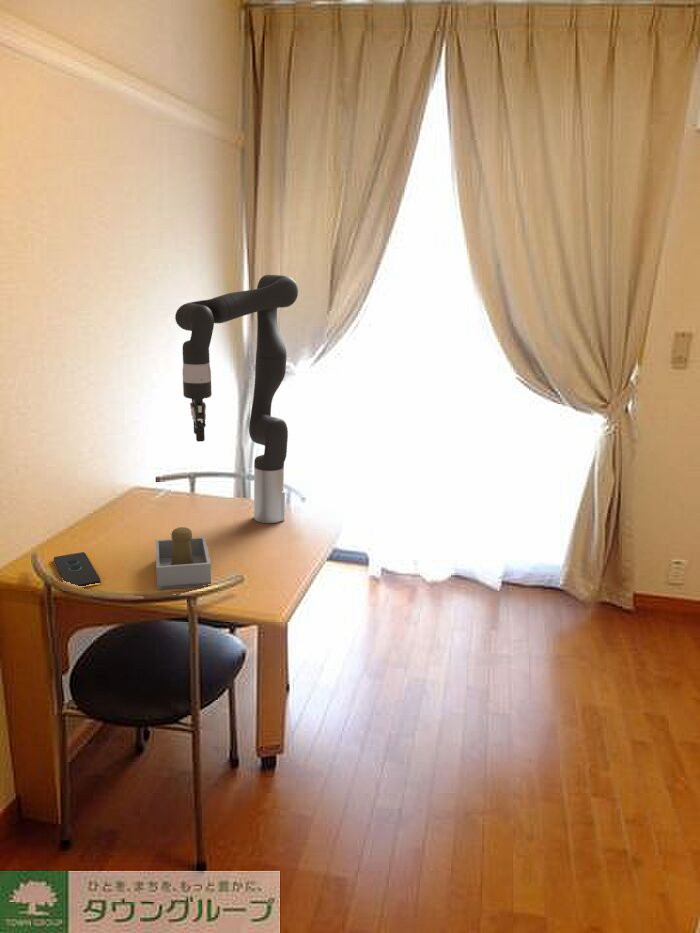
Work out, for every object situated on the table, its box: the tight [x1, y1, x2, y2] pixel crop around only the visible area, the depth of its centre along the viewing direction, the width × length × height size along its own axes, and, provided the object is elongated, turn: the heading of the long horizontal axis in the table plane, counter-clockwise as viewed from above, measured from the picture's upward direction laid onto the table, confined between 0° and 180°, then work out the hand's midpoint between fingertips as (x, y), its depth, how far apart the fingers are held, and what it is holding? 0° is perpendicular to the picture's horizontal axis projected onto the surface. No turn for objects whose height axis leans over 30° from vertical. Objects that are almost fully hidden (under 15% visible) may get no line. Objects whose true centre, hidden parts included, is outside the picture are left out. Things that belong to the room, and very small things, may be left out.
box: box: [155, 536, 212, 591], centre depth 179 cm, size 13×18×6 cm
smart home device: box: [53, 551, 101, 586], centre depth 178 cm, size 8×2×20 cm
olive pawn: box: [171, 526, 194, 565], centre depth 179 cm, size 6×6×11 cm
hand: (199, 437), depth 192 cm, fingers open, 8 cm apart
